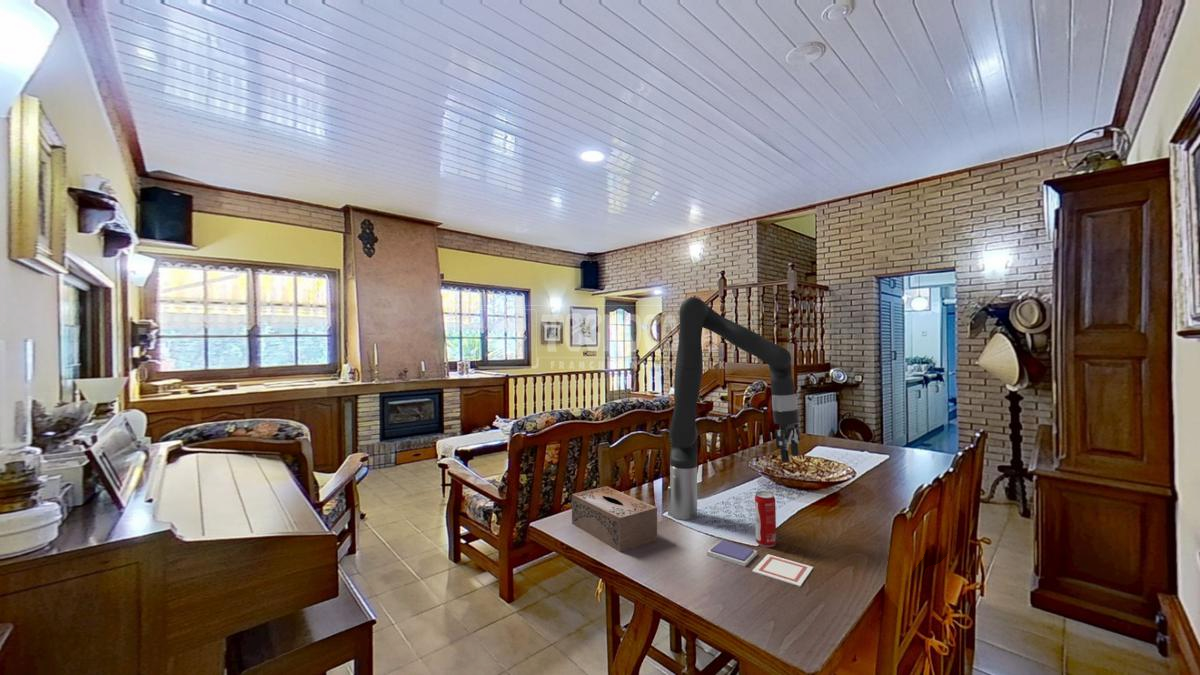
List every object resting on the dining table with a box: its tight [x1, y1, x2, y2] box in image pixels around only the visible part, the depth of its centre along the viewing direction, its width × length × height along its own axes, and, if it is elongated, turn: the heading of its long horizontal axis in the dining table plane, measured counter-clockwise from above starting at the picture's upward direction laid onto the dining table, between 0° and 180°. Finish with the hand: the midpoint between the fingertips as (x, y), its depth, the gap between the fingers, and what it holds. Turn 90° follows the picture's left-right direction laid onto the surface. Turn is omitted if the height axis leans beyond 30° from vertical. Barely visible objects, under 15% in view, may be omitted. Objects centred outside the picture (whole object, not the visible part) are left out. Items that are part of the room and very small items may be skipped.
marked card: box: [751, 553, 814, 588], centre depth 123 cm, size 12×12×1 cm
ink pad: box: [706, 540, 758, 567], centre depth 131 cm, size 11×9×2 cm
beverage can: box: [754, 490, 777, 548], centre depth 138 cm, size 6×6×15 cm
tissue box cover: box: [571, 485, 658, 553], centre depth 148 cm, size 26×14×10 cm, turn 36°
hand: (790, 458), depth 149 cm, fingers open, 8 cm apart
